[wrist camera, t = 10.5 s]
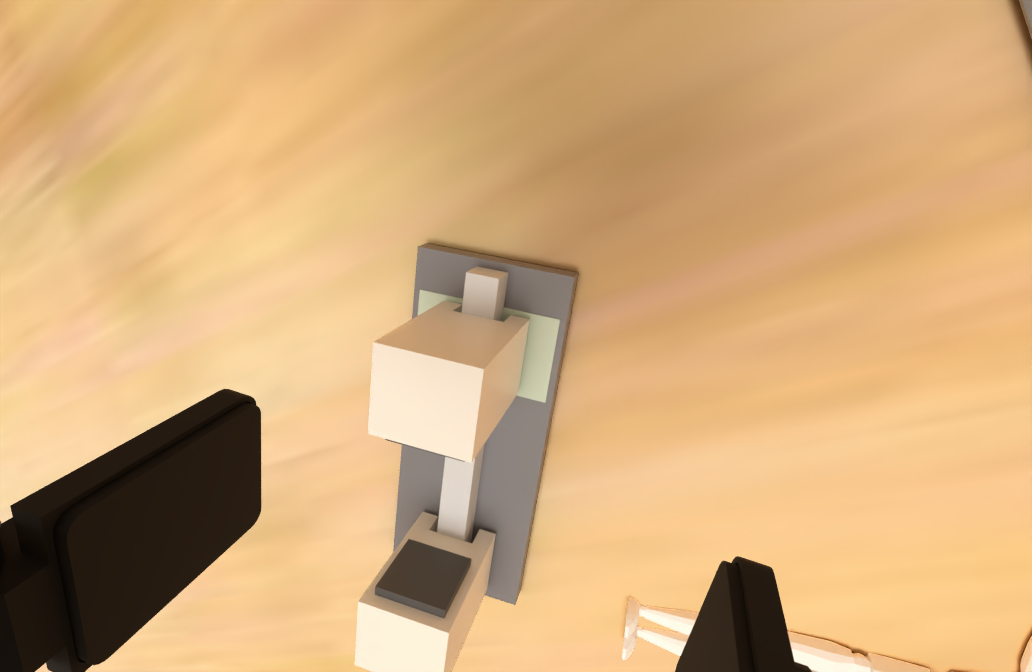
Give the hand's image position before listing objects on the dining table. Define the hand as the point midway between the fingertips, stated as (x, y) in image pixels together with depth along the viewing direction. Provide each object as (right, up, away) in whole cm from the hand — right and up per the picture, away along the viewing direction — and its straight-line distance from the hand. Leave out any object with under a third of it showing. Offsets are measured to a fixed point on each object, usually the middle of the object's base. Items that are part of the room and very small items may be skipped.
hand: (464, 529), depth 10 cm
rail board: (-2, -3, +28) cm, 28 cm away
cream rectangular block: (-1, +3, +24) cm, 24 cm away
